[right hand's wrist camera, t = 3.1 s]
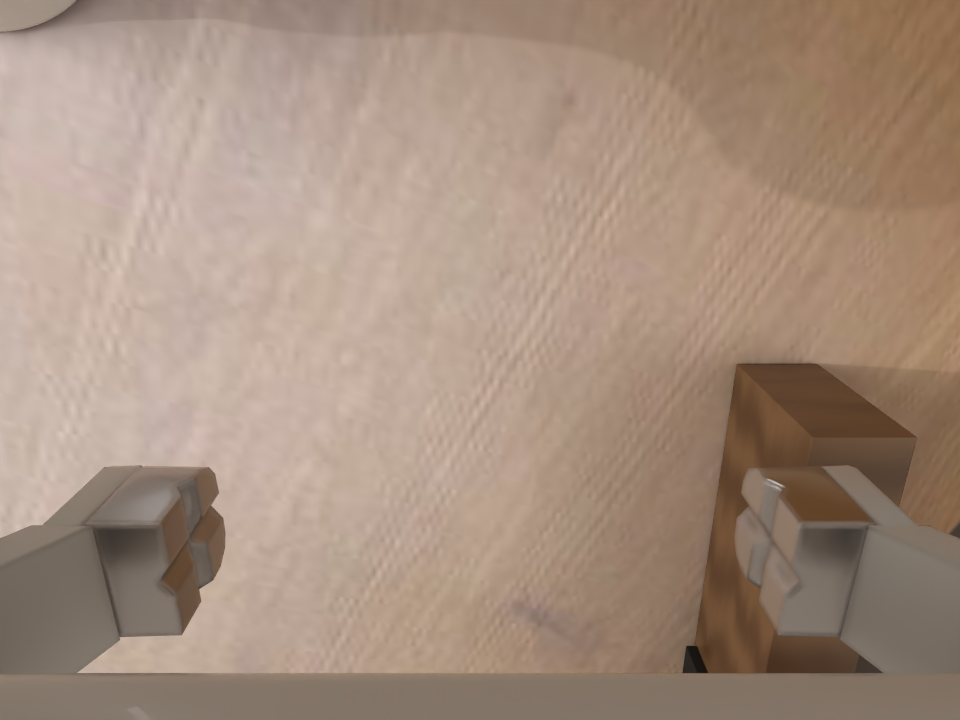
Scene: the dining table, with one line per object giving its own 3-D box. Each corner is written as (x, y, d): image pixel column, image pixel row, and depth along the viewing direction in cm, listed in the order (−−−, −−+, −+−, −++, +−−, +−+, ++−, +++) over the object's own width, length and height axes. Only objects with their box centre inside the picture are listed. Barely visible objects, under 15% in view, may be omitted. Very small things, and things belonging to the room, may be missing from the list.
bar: (736, 363, 39) (812, 437, 30) (817, 363, 39) (917, 437, 30) (686, 698, 48) (733, 829, 39) (751, 698, 48) (813, 829, 39)
